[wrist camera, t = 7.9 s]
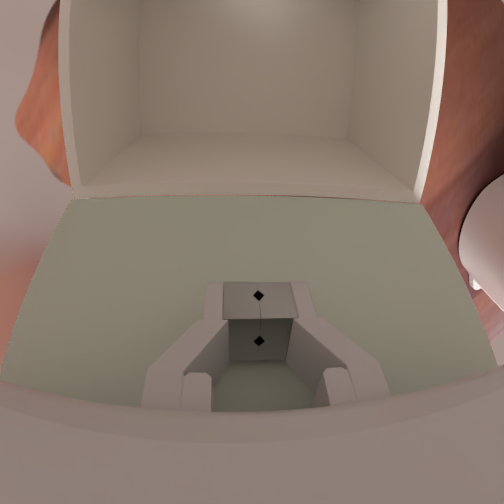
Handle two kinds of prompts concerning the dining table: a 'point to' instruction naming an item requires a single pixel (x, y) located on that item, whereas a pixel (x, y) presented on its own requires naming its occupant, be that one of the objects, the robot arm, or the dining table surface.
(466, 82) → the dining table surface
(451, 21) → the dining table surface
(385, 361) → the lid flap
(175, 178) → the carton
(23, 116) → the dining table surface
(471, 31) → the dining table surface
